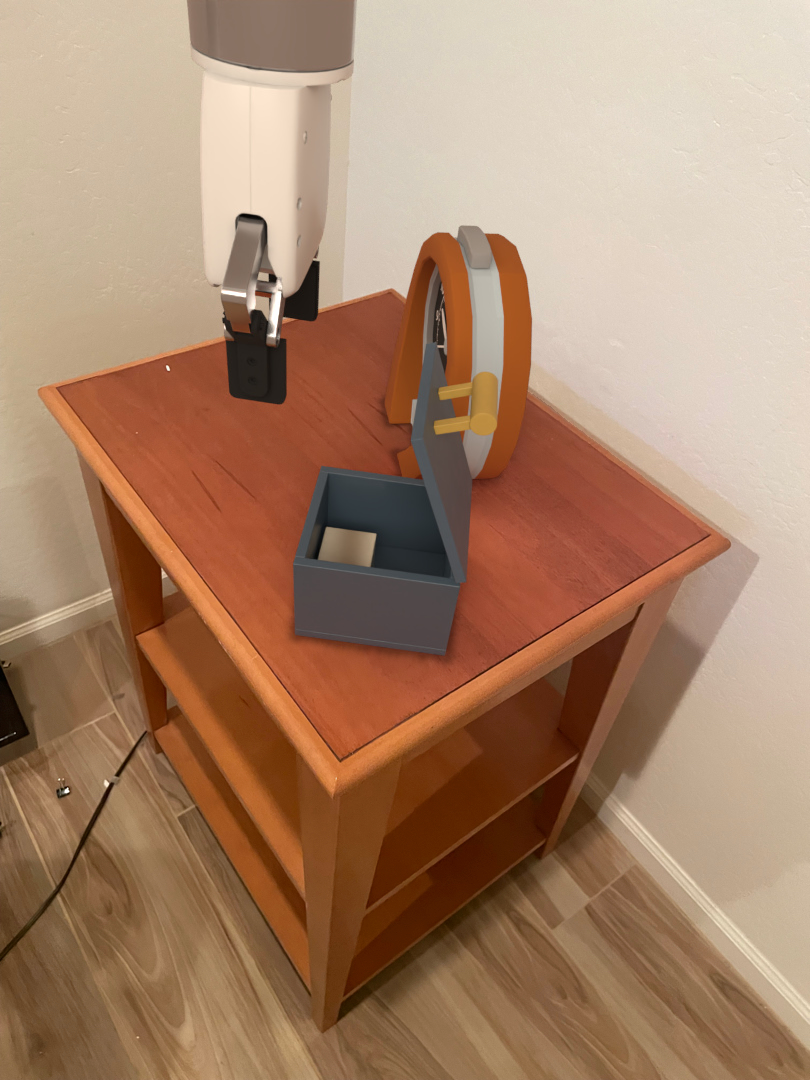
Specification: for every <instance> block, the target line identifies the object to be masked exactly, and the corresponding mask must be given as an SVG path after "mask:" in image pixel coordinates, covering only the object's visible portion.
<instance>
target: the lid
mask: <svg viewBox="0 0 810 1080" xmlns="http://www.w3.org/2000/svg"><path fill="white" fill-rule="evenodd" d="M470 395H471V410H470V415H468V416H462V417H456V416H455V412H454V408H453V404H452V400H451V399H452V398H458V397H464V396H470ZM497 409H498V379H497V377H496V376H495V375H494V374H492V373H490V372H481V373H478V374H477V375H476V376H475V377H474V378H473V381H472V382H469V383H463V384H458V385H452V386H448V385H447V381H446V377H445V373H444V369H443V366H442V362H441V358H440V354H439V350H438V346H437V343H436V342H434V343H429V344H426V348H425V354H424V360H423V366H422V373H421V379H420V385H419V391H418V398H417V404H416V410H415V416H414V423H413V426H412V430H411V436H410V445H412V447H413V450H414V453H415V456H416V459H417V462H418V465H419V469H420V472H421V475H422V478H423V481H424V484H425V487H426V491H427V494H428V497H429V500H430V503H431V506H432V509H433V513H434V516H435V519H436V522H437V525H438V528H439V531H440V534H441V538H442V541H443V544H444V547H445V550H446V553H447V556H448V560H449V563H450V566H451V569H452V572H453V575H454V578H455V582H456V583H461V584H464V583H467V581H468V578H467V577H468V563H469V562H468V560H469V546H470V545H469V544H470V530H471V529H470V526H471V510H472V492H473V479H472V477H471V473H470V470H469V466H468V462H467V458H466V454H465V450H464V446H463V443H462V439H461V435H460V431H464V430H472V431H473V432H474V433H475V434H477V435H481V436H485V435H489V434H491V433H493V432H494V431H495V430H496V428H497Z"/></svg>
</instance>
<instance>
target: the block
mask: <svg viewBox="0 0 810 1080" xmlns="http://www.w3.org/2000/svg"><path fill="white" fill-rule="evenodd" d="M376 536H377V534H376V533H368V532H361V531H354V530H347V529H339V528H332V527H326V529H325V533H324V536H323V540H322V544H321V548H320V552H319V556H318V560H323V561H330V562H337V563H345V564H352V565H359V566H366V567H373V568H374V558H375V547H376Z"/></svg>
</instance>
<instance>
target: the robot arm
mask: <svg viewBox="0 0 810 1080" xmlns="http://www.w3.org/2000/svg"><path fill="white" fill-rule="evenodd" d="M357 5H358V0H186V7H187V19H188V32H189V41H190V43H189V44H190V45H189V46H190V57H191V59H192V61H193V62H194V63H195V64H196V65H197V66H199V67H200V68H202V69H204V70H203V72H202V78H201V90H200V91H201V92H200V109H199V110H200V113H199V179H200V181H199V182H200V186H199V187H200V206H201V207H200V210H201V211H200V213H201V235H202V258H203V259H202V260H203V272H204V273H203V274H204V277H205V278H204V279H205V280H206V281H207V283H208V284H209V285H210V286H211V288H219V287H220V286H221V288H220V302H221V306H222V309H223V312H222V315H223V317H222V318H221V320H222V321H221V322H222V324H223V325H224V326H223V337H224V340H225V349H226V351H225V352H226V365H227V366H226V367H227V379H228V381H227V383H228V392H229V394H230V396H231V397H233V398H235V399H240V400H247V401H253V402H260V403H264V404H265V403H266V404H271V405H283V404H284V403H285V401H286V398H287V395H288V394H287V391H288V389H287V388H288V387H287V382H288V381H287V379H288V377H287V375H288V373H287V372H288V371H287V365H288V364H287V360H288V359H287V358H288V357H287V356H288V355H287V352H288V351H287V346H288V345H287V338H283V337H281V336H282V327H283V320H284V318H285V319H291V320H298V321H306V322H310V323H311V322H315V321H317V318H318V316H319V300H320V272H321V270H320V269H321V268H320V267H321V266H320V265H321V261H320V260H317V259H318V256H319V253H320V252H319V251H320V244H321V242H322V239H323V236H324V231H325V228H326V220H327V212H328V211H327V209H328V199H329V198H328V197H329V182H330V157H331V156H330V155H331V153H330V152H331V120H332V119H331V118H332V117H331V116H332V115H331V112H332V111H331V106H332V99H333V98H332V97H333V96H332V84H333V85H334V84H337V83H340V82H341V81H345V80H348V79H349V78H351V77H352V76H353V74H354V66H355V65H354V64H355V44H356V41H355V40H356V24H357V23H356V21H357V7H358V6H357ZM314 259H316V260H314ZM260 273H262V274H268V276H267V277H268V281H267V280H262V279H259V274H260ZM256 297H261V298H267V299H268V319H267V317H266V315H265V314H264V311H263V310H261V309H256V305H257V301H256Z"/></svg>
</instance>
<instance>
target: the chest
mask: <svg viewBox="0 0 810 1080" xmlns="http://www.w3.org/2000/svg"><path fill="white" fill-rule="evenodd" d="M326 527H332V528H339V529H347V530H354V531H361V532H368V533H376V534H377V536H376V547H375V558H374V568H373V567H366V566H359V565H352V564H345V563H337V562H330V561H323V560H318V556H319V552H320V548H321V544H322V540H323V536H324V533H325V529H326ZM292 577H293V579H292V581H293V583H292V584H293V612H294V613H293V614H294V635H295V636H301V637H308V638H315V639H322V640H328V641H335V642H344V643H351V644H358V645H365V646H372V647H378V648H379V647H380V648H387V649H392V650H393V649H394V650H401V651H408V652H416V653H423V654H430V655H437V656H443V657H444V656H446V653H447V648H448V644H449V640H450V635H451V630H452V627H453V622H454V616H455V613H456V607H457V604H458V600H459V595H460V590H461V584H462V583H456V582H455V578H454V575H453V572H452V569H451V566H450V563H449V560H448V556H447V553H446V550H445V547H444V544H443V541H442V538H441V534H440V531H439V528H438V525H437V522H436V519H435V516H434V513H433V509H432V506H431V503H430V500H429V497H428V494H427V491H426V487H425V484H424V481H423V480H422V479H414V478H407V477H402V476H399V475H392V474H384V473H377V472H370V471H362V470H355V469H348V468H340V467H335V466H334V467H333V466H327V465H321V466H320V469H319V472H318V476H317V480H316V483H315V486H314V490H313V493H312V497H311V500H310V504H309V507H308V510H307V513H306V517H305V521H304V524H303V528H302V531H301V535H300V538H299V542H298V544H297V548H296V552H295V556H294V558H293V562H292Z"/></svg>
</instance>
